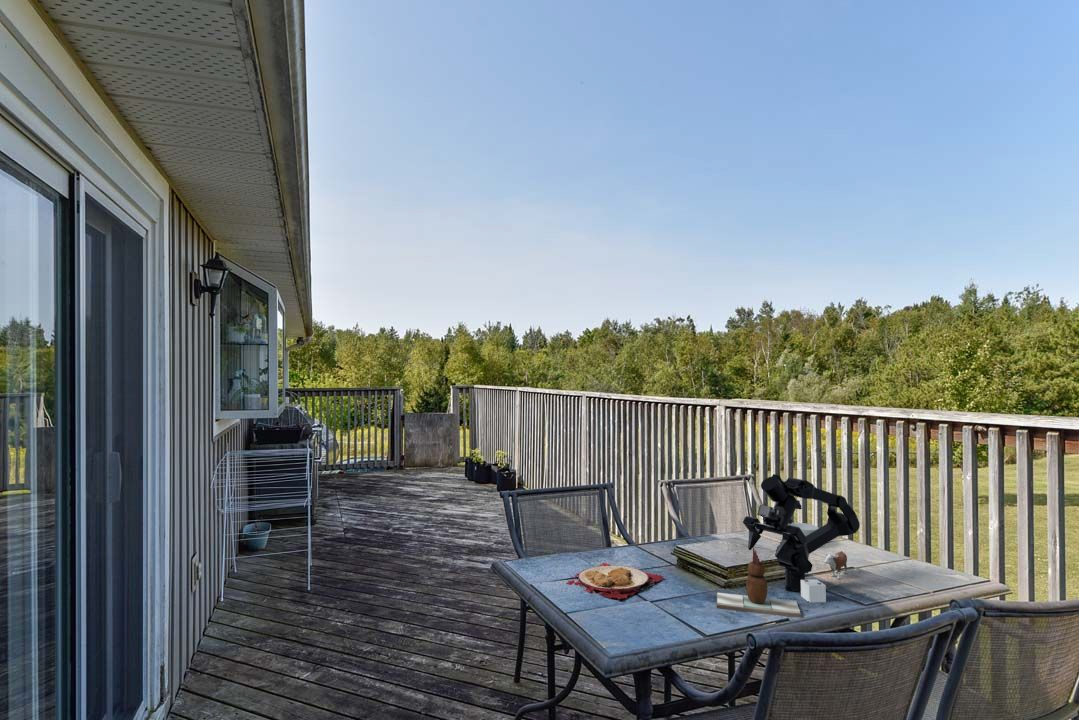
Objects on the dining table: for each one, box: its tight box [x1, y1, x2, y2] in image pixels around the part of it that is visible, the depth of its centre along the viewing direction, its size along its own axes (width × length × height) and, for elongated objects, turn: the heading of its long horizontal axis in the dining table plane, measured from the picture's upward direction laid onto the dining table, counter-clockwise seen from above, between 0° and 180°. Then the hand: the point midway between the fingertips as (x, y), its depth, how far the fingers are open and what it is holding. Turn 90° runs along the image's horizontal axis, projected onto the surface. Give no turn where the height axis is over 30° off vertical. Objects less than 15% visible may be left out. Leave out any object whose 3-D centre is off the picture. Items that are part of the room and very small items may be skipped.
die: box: [800, 579, 827, 603], centre depth 172 cm, size 5×5×5 cm
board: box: [716, 592, 802, 618], centre depth 166 cm, size 10×22×1 cm, turn 73°
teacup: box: [788, 522, 820, 536], centre depth 230 cm, size 15×12×8 cm
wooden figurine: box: [745, 547, 768, 603], centre depth 166 cm, size 7×6×15 cm
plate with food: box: [565, 562, 665, 600], centre depth 187 cm, size 25×26×4 cm
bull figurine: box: [823, 550, 848, 580], centre depth 192 cm, size 4×13×8 cm, turn 132°
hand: (762, 552), depth 172 cm, fingers open, 9 cm apart
